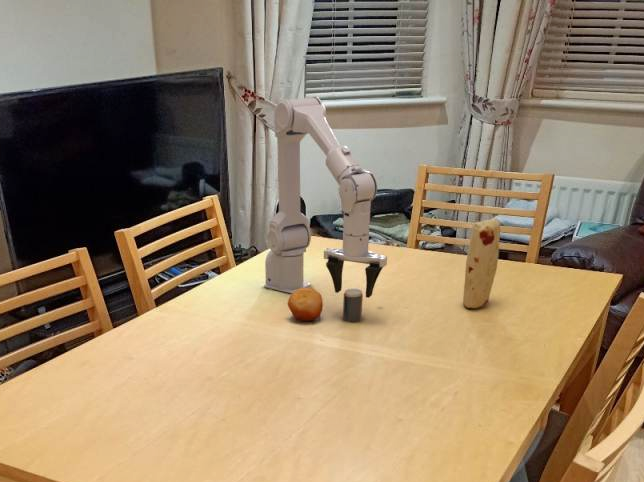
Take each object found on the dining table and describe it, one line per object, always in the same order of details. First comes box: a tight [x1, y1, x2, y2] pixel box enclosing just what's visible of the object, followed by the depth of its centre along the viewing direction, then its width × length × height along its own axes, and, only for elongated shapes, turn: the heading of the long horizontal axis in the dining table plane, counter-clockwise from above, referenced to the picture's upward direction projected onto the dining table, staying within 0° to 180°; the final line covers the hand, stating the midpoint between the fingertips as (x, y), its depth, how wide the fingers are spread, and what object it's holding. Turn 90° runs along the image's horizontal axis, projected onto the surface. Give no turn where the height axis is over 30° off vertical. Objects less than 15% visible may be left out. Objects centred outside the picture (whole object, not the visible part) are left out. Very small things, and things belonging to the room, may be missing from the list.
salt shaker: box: [342, 288, 364, 323], centre depth 175 cm, size 4×4×6 cm
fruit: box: [287, 286, 324, 322], centre depth 176 cm, size 8×8×8 cm
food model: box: [462, 218, 501, 309], centre depth 178 cm, size 10×7×20 cm
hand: (353, 293), depth 174 cm, fingers open, 7 cm apart
